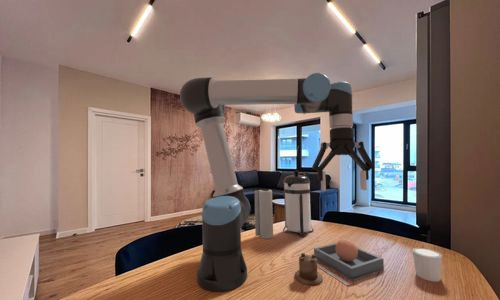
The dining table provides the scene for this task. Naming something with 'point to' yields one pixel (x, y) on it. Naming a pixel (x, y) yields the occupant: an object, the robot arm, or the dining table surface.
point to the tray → (353, 269)
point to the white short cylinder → (427, 264)
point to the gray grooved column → (263, 214)
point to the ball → (346, 250)
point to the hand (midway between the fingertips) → (343, 190)
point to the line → (333, 275)
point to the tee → (308, 271)
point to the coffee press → (297, 204)
